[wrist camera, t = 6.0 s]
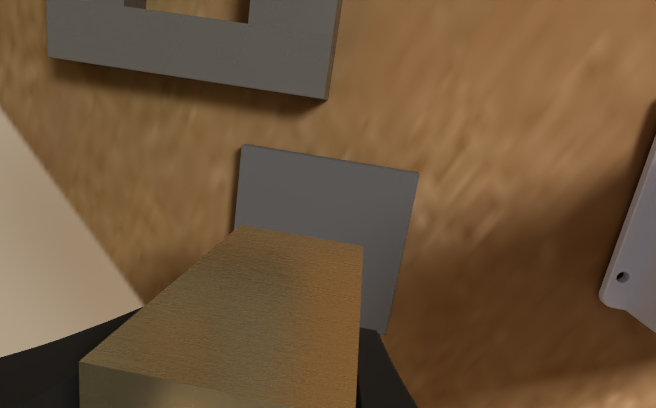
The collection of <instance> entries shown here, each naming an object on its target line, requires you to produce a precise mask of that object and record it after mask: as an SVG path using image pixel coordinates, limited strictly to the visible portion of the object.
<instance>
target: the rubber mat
mask: <svg viewBox="0 0 656 408" xmlns="http://www.w3.org/2000/svg"><path fill="white" fill-rule="evenodd" d="M418 179H419V173H418V172H413V171H407V170H400V169H394V168H388V167H382V166H376V165H370V164H364V163H358V162H352V161H346V160H340V159H333V158H327V157H321V156H315V155H309V154H303V153H297V152H291V151H285V150H279V149H273V148H266V147H260V146H254V145H248V144H245V145H242V148H241V159H240V170H239V181H238V192H237V203H236V213H235V224H234V230H235V229H236V228H238V227H239V226H240V225H241V224H242V225H248V226H253V227H259V228H265V229H270V230H276V231H281V232H287V233H293V234H298V235H304V236H310V237H315V238H321V239H327V240H332V241H338V242H344V243H349V244H355V245H361V246H363V265H362V285H361V306H360V327H361V328H367V329H372V330H376V331H377V332H378V334H383V335H385V334H386V330H387V325H388V320H389V315H390V311H391V306H392V301H393V297H394V292H395V287H396V283H397V278H398V273H399V268H400V264H401V259H402V254H403V250H404V245H405V240H406V235H407V231H408V226H409V221H410V217H411V212H412V207H413V203H414V198H415V193H416V188H417V184H418Z"/></svg>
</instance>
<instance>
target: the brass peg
mask: <svg viewBox="0 0 656 408" xmlns="http://www.w3.org/2000/svg"><path fill="white" fill-rule="evenodd" d="M362 265H363V246H361V245H355V244H349V243H344V242H338V241H332V240H327V239H321V238H315V237H310V236H304V235H298V234H293V233H287V232H281V231H276V230H270V229H265V228H259V227H253V226H248V225H242V224H241V225H240V226H239V227H238V228H236V229H235V230H234V231H233V232H232V233H230V234H229V235H228V236H227V237H226V238H225V239H223V240H222V241H221V242H220V243H219V244H217V245H216V246H215V247H214V248H213V249H212V250H210V251H209V252H208V253H207V254H206V255H204V256H203V257H202V258H201V259H200V260H198V261H197V262H196V263H195V264H194V265H193V266H191V267H190V268H189V269H188V270H187V271H185V272H184V273H183V274H182V275H181V276H180V277H178V278H177V279H176V280H175V281H174V282H172V283H171V284H170V285H169V286H168V287H166V288H165V289H164V290H163V291H162V292H161V293H159V294H158V295H157V296H156V297H155V298H153V299H152V300H151V301H150V302H149V303H148V304H146V305H145V306H144V307H143V308H142V309H140V310H139V311H138V312H137V313H136V314H135V315H133V316H132V317H131V318H130V319H129V320H127V321H126V322H125V323H124V324H123V325H121V326H120V327H119V328H118V329H117V330H116V331H114V332H113V333H112V334H111V335H110V336H108V337H107V338H106V339H105V340H104V341H103V342H101V343H100V344H99V345H98V346H97V347H95V348H94V349H93V350H92V351H91V352H89V353H88V354H87V355H86V356H85V357H84V358H82V359H81V360H80V361H79V400H80V408H356V389H357V368H358V347H359V327H360V306H361V285H362Z"/></svg>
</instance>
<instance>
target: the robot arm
mask: <svg viewBox="0 0 656 408" xmlns="http://www.w3.org/2000/svg"><path fill="white" fill-rule="evenodd" d="M621 272H624V275H623V276H622V277H621V278H620V279H616V278H617V275H618V274H619V273H621ZM599 299H600V301H601V302H603V303H604V304H605V305H606V306H608V307H611V308H616V309H622V310H626V311H627V312H628V313H630V314H631V315H632V316H634V317H635V318H636V319H638V320H639V321H640V322H641V323H643V324H644V325H645V326H647V327H648V328H649V329H651V330H652V331H653V332H655V333H656V136H655V138H654V141H653V144H652V147H651V150H650V152H649V155H648V158H647V161H646V163H645V166H644V169H643V172H642V174H641V177H640V180H639V183H638V186H637V188H636V191H635V194H634V197H633V199H632V202H631V205H630V208H629V211H628V213H627V216H626V219H625V222H624V224H623V227H622V230H621V233H620V235H619V238H618V241H617V244H616V247H615V249H614V252H613V255H612V258H611V260H610V263H609V266H608V269H607V272H606V274H605V277H604V280H603V283H602V285H601V288H600V291H599ZM142 308H143V307H142ZM142 308H139V309H137V310H135V311H132V312H130V313H127V314H125V315H122V316H120V317H117V318H115V319H113V320H110V321H108V322H105V323H102V324H100V325H97V326H94V327H92V328H89V329H86V330H84V331H81V332H78V333H75V334H73V335H70V336H67V337H65V338H62V339H59V340H56V341H53V342H50V343H47V344H44V345H41V346H38V347H35V348H31V349H28V350H25V351H21V352H18V353H14V354H11V355H8V356H4V357H1V358H0V408H80V400H79V361H80V360H81V359H82V358H84V357H85V356H86V355H87V354H88V353H89V352H91V351H92V350H93V349H94V348H95V347H97V346H98V345H99V344H100V343H101V342H103V341H104V340H105V339H106V338H107V337H108V336H110V335H111V334H112V333H113V332H114V331H116V330H117V329H118V328H119V327H120V326H121V325H123V324H124V323H125V322H126V321H127V320H129V319H130V318H131V317H132V316H133V315H135V314H136V313H137V312H138V311H139V310H140V309H142ZM356 408H418V407H417V405H416V404H415V402H414V400H413V399H412V397H411V395H410V394H409V392H408V390H407V389H406V387H405V385H404V383H403V382H402V380H401V378H400V376H399V374H398V373H397V371H396V369H395V367H394V365H393V363H392V361H391V359H390V357H389V355H388V353H387V351H386V349H385V347H384V344H383V342H382V340H381V337H380V335H379V334H378V332H377V331H376V330H372V329H367V328H361V327H359V347H358V368H357V389H356Z"/></svg>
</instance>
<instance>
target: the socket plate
mask: <svg viewBox="0 0 656 408" xmlns="http://www.w3.org/2000/svg"><path fill="white" fill-rule="evenodd" d="M341 6H342V0H250V7H249V19H248V24H247V23H240V22H233V21H226V20H218V19H211V18H204V17H197V16H190V15H183V14H176V13H168V12H161V11H154V10H147V9H146V0H46V14H47V44H48V57H52V58H57V59H63V60H68V61H74V62H80V63H87V64H93V65H100V66H106V67H113V68H119V69H126V70H132V71H139V72H145V73H152V74H159V75H165V76H172V77H178V78H185V79H191V80H198V81H204V82H211V83H217V84H224V85H230V86H237V87H243V88H250V89H257V90H263V91H270V92H276V93H283V94H289V95H296V96H302V97H309V98H315V99H322V100H328V96H329V89H330V82H331V75H332V68H333V61H334V54H335V47H336V41H337V34H338V27H339V20H340V13H341Z"/></svg>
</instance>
